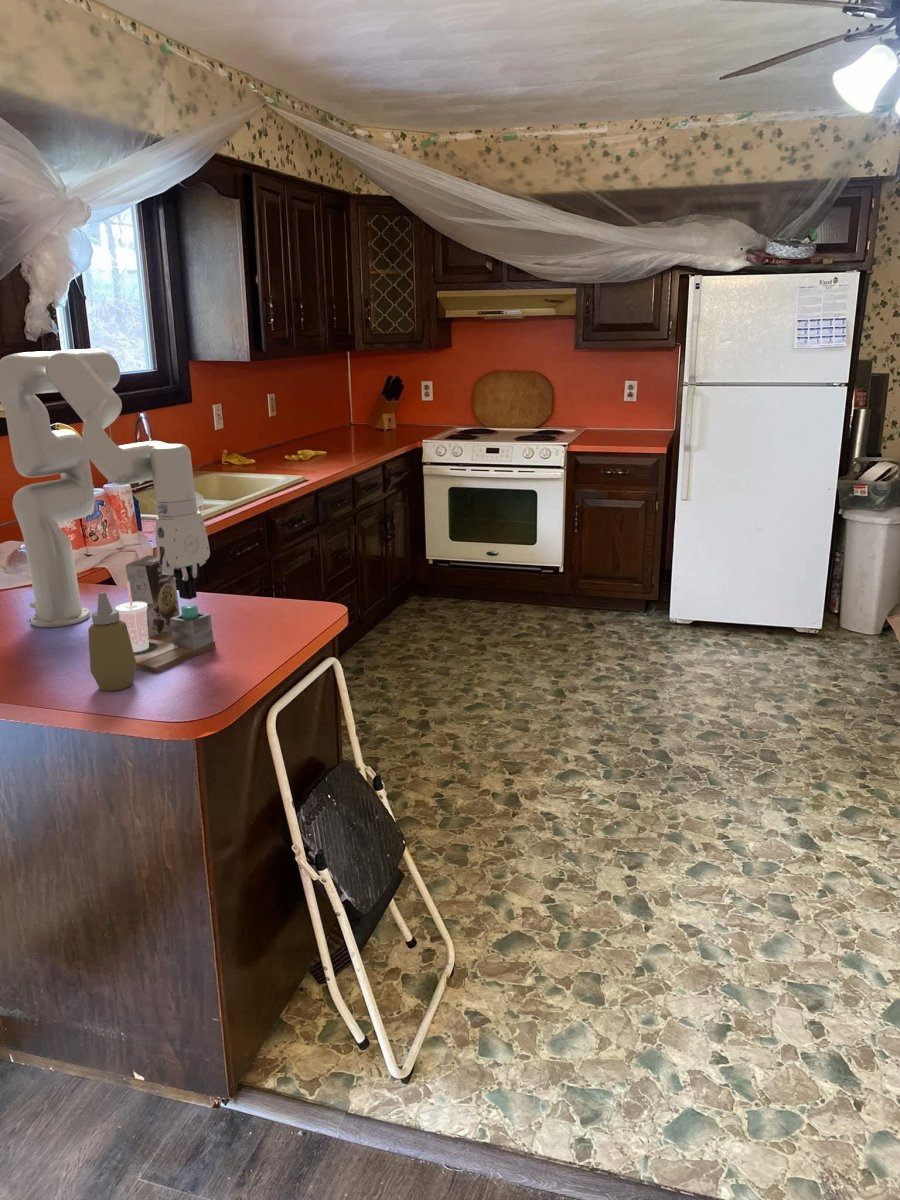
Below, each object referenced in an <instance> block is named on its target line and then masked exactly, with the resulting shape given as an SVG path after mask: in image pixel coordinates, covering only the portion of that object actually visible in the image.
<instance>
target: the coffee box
mask: <svg viewBox="0 0 900 1200" xmlns="http://www.w3.org/2000/svg"><path fill="white" fill-rule="evenodd" d="M125 569H126V570H125V571H126V578H127V582H129V583H130V591H131V598H132V602H145V603H147V607H148V608H147V625H148V638H149V637H151V636H154V635H157V634H159V633H162V632H167V633H170V632H172V629H171V621H170V618H173V617H176V616H178V615H181V614H180V605H179V599H178V598H179V597H178V592H177V583H176V579H174V577H173V576H172V575H163V574H162V566H160V565H159V562H158V557H157V554H156V555H146V556H143V557H141V558H139V559H136V560H133V561H132V562H129V563H128V564H125ZM169 631H170V632H169Z"/></svg>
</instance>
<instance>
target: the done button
mask: <svg viewBox="0 0 900 1200" xmlns="http://www.w3.org/2000/svg"><path fill="white" fill-rule="evenodd" d="M180 609H181V610H180V611H181V614H182V619H184V620H193V619H196V618H198V617H199V615H198V612H199V608H198V605H197V604H186V605H183V606H181V607H180Z"/></svg>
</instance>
